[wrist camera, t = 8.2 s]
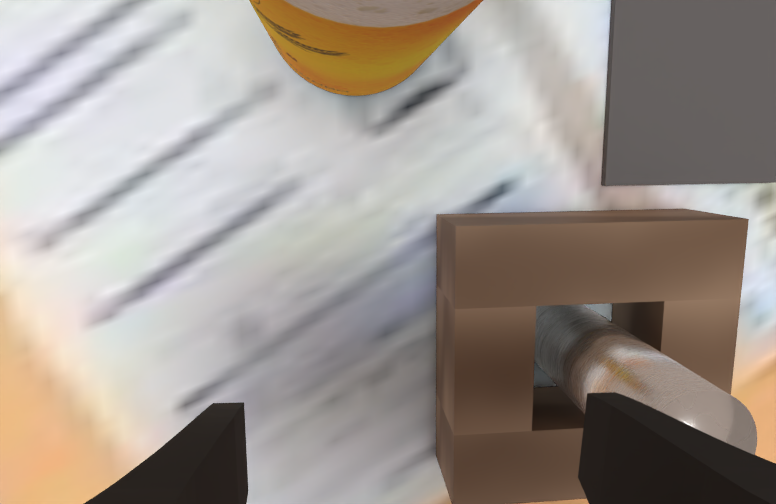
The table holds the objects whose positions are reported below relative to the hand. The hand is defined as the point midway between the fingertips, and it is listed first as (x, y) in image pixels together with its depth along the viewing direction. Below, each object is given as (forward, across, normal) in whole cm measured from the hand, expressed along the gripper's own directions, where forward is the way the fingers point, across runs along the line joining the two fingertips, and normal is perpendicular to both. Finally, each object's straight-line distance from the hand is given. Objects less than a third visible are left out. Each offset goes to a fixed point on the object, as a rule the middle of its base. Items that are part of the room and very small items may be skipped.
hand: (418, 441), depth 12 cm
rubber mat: (+11, -12, -8) cm, 18 cm away
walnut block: (+10, -7, +2) cm, 13 cm away
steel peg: (+10, -7, +2) cm, 13 cm away
